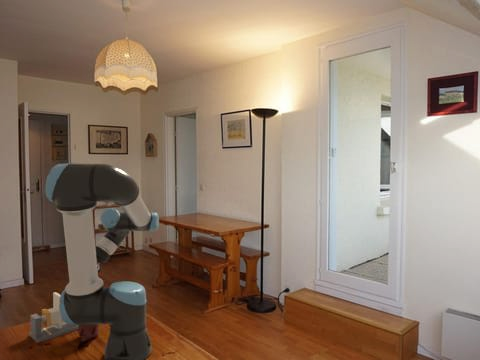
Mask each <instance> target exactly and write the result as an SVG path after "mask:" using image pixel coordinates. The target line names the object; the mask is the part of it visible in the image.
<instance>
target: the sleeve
mask: <svg viewBox="0 0 480 360" xmlns="http://www.w3.org/2000/svg"><path fill="white" fill-rule="evenodd" d="M60 297H61V294H60V293H59V292H56V291H55V292H53V293H52V298H53V300H52V301H53V302H52V303H53V304H52V306H53V307H51V308H49V309H47V308H46V309H47V310H48V311H49V312H51V326H52V325H56V326H57V327H59V328H63V322H64V321H63V320H62V318H61V315H60V311H59V304H60Z"/></svg>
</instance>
